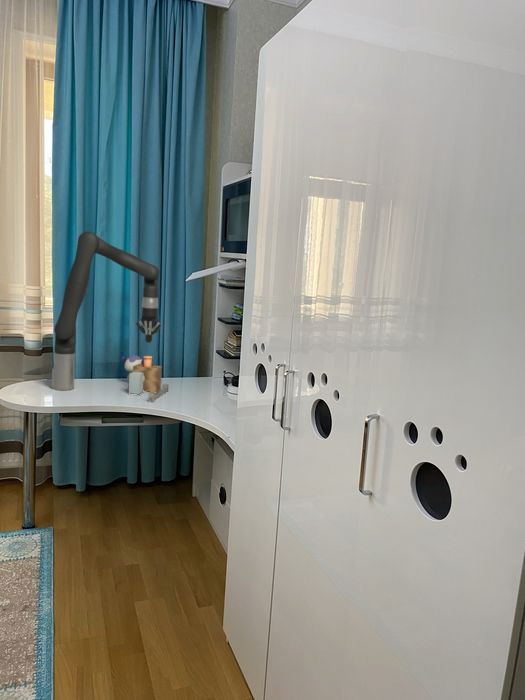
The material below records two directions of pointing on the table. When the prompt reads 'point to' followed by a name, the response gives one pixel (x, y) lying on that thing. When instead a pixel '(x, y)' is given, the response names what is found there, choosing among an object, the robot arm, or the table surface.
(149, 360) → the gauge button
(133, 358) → the toy
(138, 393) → the pale grey rectangular block
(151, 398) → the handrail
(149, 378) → the end cabinet
